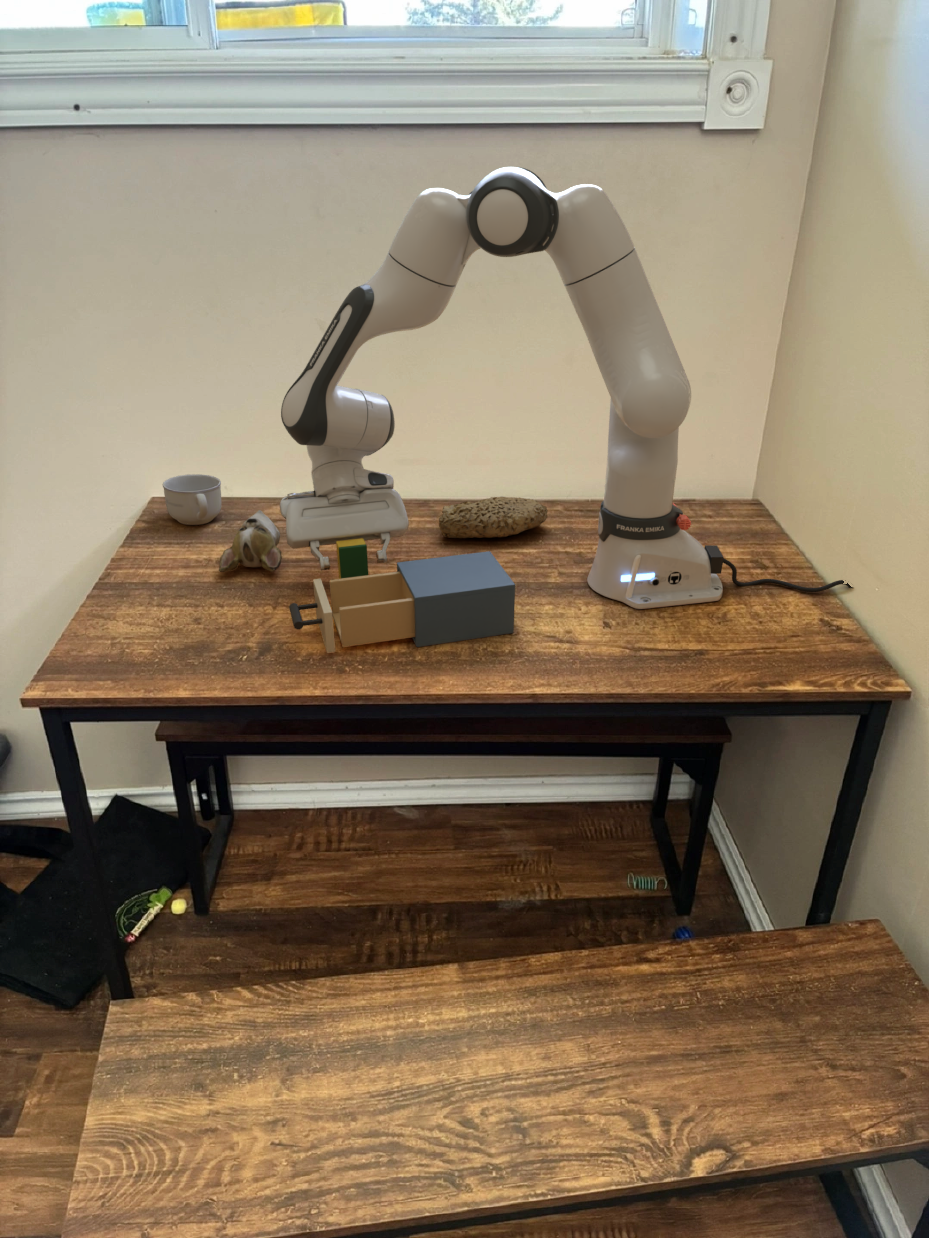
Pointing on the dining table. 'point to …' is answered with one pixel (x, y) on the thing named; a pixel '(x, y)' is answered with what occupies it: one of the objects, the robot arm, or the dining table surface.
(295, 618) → the drawer
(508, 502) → the sponge
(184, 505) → the teacup
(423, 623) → the cabinet
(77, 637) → the dining table surface
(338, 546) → the scrub sponge
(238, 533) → the ceramic sculpture
